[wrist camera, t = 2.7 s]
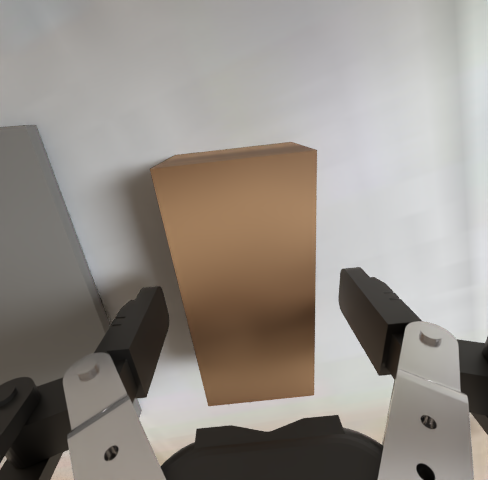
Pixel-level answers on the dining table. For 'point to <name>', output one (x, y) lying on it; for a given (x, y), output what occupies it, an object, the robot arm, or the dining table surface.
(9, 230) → the rubber mat
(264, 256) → the walnut block
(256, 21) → the dining table surface
